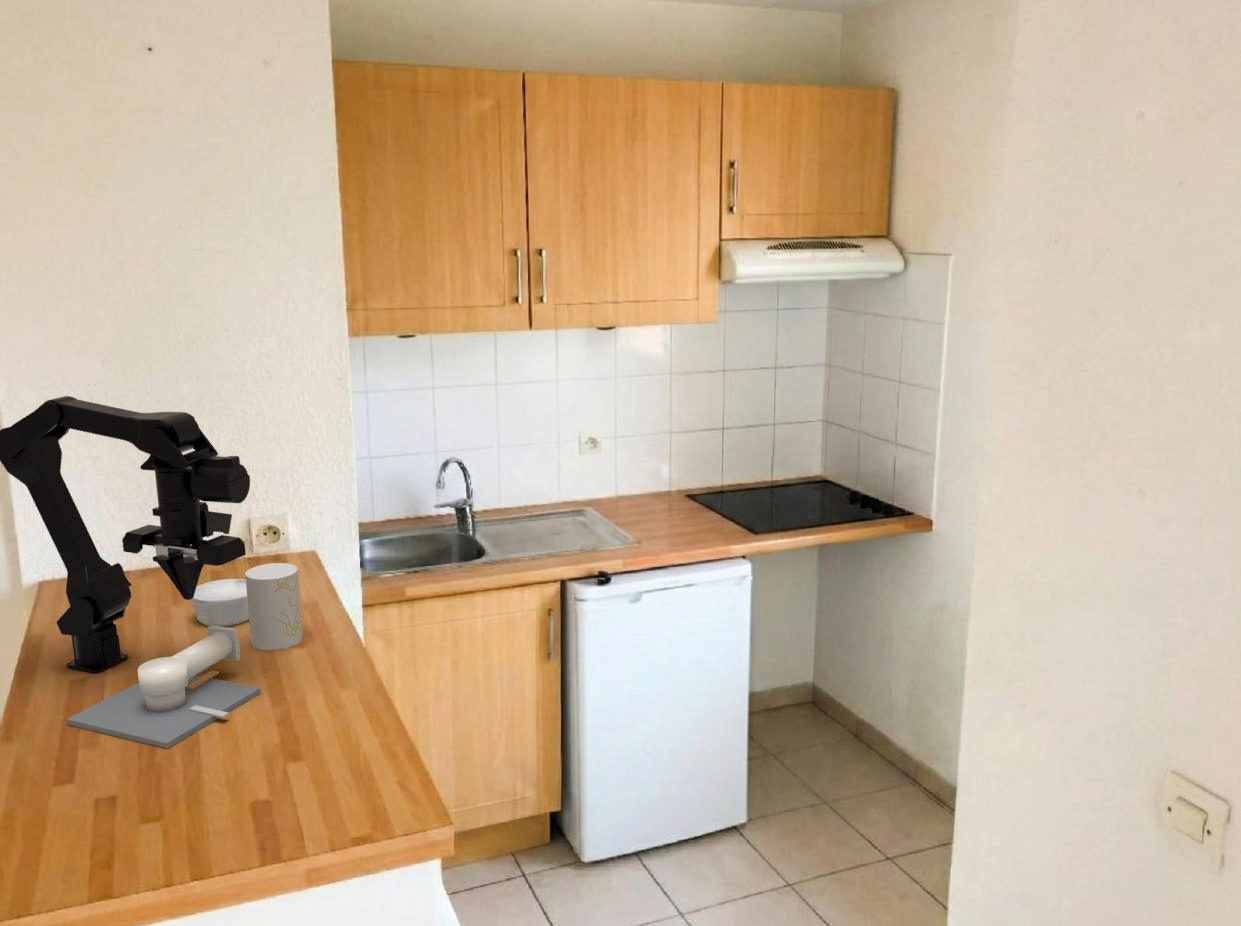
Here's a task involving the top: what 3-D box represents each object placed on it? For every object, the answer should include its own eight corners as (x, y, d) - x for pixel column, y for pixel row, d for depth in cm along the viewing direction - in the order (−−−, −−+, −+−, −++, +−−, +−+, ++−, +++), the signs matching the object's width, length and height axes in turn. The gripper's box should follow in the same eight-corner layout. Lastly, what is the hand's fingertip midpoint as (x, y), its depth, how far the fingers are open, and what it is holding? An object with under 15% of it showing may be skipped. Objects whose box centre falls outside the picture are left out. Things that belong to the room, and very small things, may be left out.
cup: (287, 651, 173) (282, 581, 170) (241, 647, 174) (235, 577, 172) (311, 632, 181) (306, 564, 178) (267, 629, 182) (261, 561, 179)
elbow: (167, 705, 149) (164, 673, 148) (130, 699, 151) (126, 667, 150) (244, 659, 164) (241, 629, 163) (209, 653, 166) (206, 624, 165)
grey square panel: (67, 724, 149) (64, 703, 148) (175, 668, 166) (173, 649, 166) (177, 751, 141) (175, 728, 141) (278, 690, 159) (277, 669, 158)
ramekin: (274, 613, 189) (272, 585, 188) (221, 634, 180) (218, 605, 179) (232, 601, 195) (230, 574, 194) (178, 621, 186) (175, 592, 185)
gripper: (266, 492, 163) (274, 589, 166) (171, 480, 169) (181, 574, 173) (213, 511, 152) (223, 614, 156) (114, 498, 159) (126, 597, 163)
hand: (188, 598), depth 162 cm, fingers closed
